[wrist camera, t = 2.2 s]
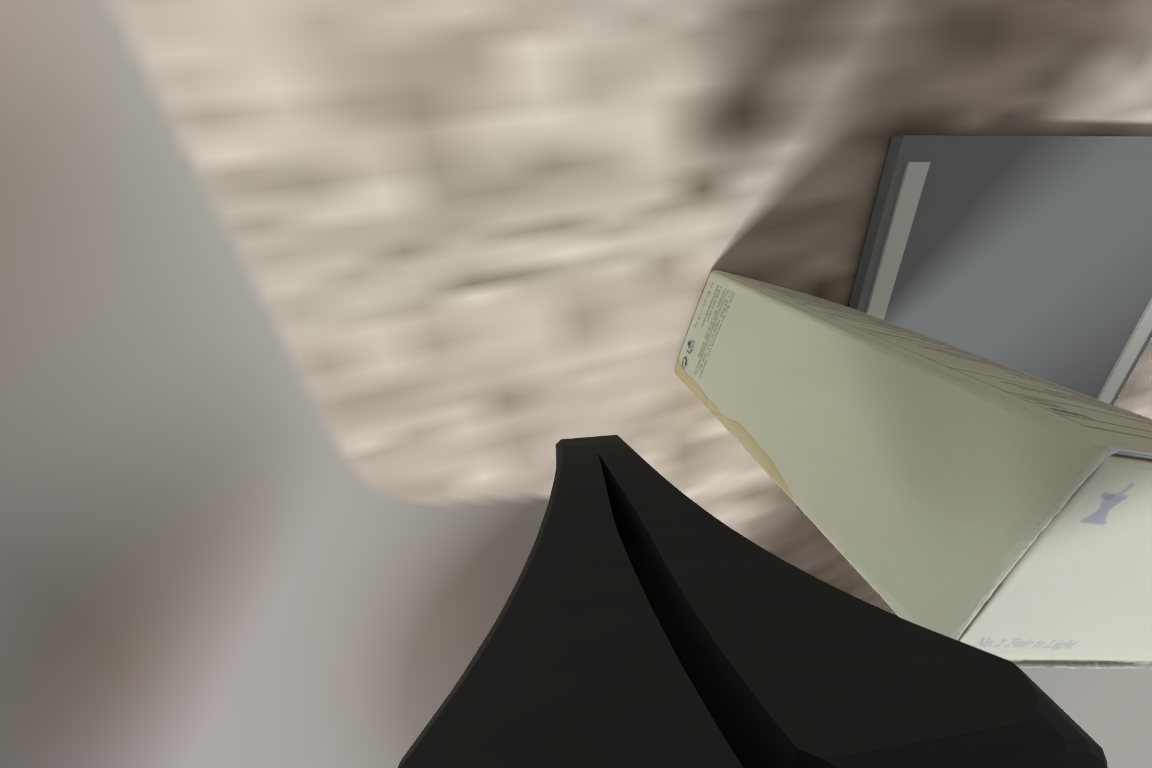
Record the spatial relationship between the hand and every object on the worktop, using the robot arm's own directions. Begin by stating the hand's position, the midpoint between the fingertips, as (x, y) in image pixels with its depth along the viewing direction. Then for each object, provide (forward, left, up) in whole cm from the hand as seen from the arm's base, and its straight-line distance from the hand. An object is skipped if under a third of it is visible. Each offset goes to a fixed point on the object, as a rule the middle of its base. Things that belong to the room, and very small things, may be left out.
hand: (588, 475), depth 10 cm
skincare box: (0, -8, -8) cm, 12 cm away
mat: (-1, -19, -8) cm, 21 cm away
